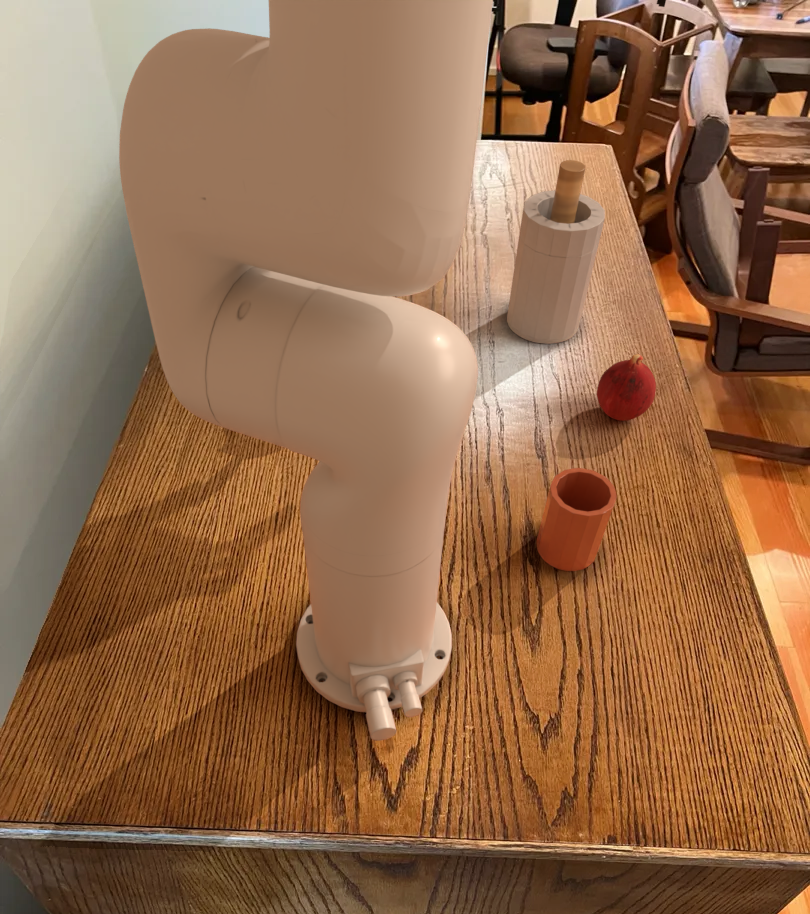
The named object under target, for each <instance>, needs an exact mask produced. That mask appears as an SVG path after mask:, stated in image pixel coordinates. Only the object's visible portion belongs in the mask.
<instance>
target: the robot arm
mask: <svg viewBox="0 0 810 914" xmlns="http://www.w3.org/2000/svg"><path fill="white" fill-rule="evenodd" d="M666 2H667V0H656V5H658V7H660V8H662V7H663V8H665V6H666ZM493 3H494V0H268V23H269V24H268V25H269V37H267V36H261V35H256V34H250V33H245V32H240V31H234V30H228V29H219V28H191V29H185V30H181V31H178V32H175V33H172V34H170V35H168V36H166V37H164V38H162V39H161V40H159V41H158V42H156V44H155V45H154V46H153V47H152V48H151V49H149V50H148V51H147V52H146V53H145V55H144V56H143V58H142V60H140V63H139V64H138V66H137V68H136V70H135V71H134V73H133V75H132V78H131V81H130V83H129V85H128V89H127V92H126V96H125V99H124V104H123V108H122V115H121V122H120V129H119V142H118V143H119V146H118V147H119V149H118V151H119V154H118V161H119V172H120V173H119V174H120V183H121V189H122V194H123V200H124V206H125V211H126V217H127V222H128V225H129V230H130V234H131V235H130V236H131V239H132V244H133V248H134V253H135V256H136V262H137V265H138V270H139V274H140V279H141V284H142V288H143V293H144V296H145V301H146V306H147V310H148V315H149V319H150V323H151V327H152V332H153V336H154V341H155V345H156V349H157V353H158V357H159V361H160V364H161V369H162V371H163V374H164V377H165V379H166V382H167V385H168V386H169V388H170V390H171V393H172V394H173V395H174V397H175V398H176V400H177V401H178V402H179V403H180V404H181V406H182V407H184V408H185V410H186V411H188V412H189V413H190V414H192V415H194V416H196V418H199V419H200V420H203V421H205V422H208V423H210V424H212V425H215V426H217V427H221V428H223V429H226V430H229V431H231V432H235V433H238V434H241V435H244V436H247V437H250V438H253V439H256V440H260V441H263V442H265V443H268V444H273V445H275V446H278V447H281V448H284V449H287V450H289V451H291V452H293V453H296V454H300V455H302V456H305V457H308V458H311V459H314V460H316V461H318V462H317V464H316V465H315V467H313V469H312V471H310V473H309V474H308V476H307V478H306V481H305V482H304V485H303V489H302V491H301V496H300V502H299V515H300V523H301V525H300V526H301V531H302V538H303V546H304V556H305V565H306V573H307V580H308V589H309V597H310V604H309V605H308V607H306V609H305V611H304V613H303V615H302V616H301V618H300V620H299V624H298V628H297V631H296V645H295V647H296V653H297V659H298V663H299V666H300V669H301V671H302V673H303V675H304V677H305V679H306V680H307V682H308V683H309V684H310V685H311V687H312V688H313V689H314V690H315V691H316V692H317V693H318V694H319V695H321V696H322V697H323V698H324V699H325V700H327V701H329V702H331V703H333V704H335V705H336V706H338V707H340V708H343V709H347V710H350V711H354V712H358V713H359V712H360V713H366V714H365V718H366V723H367V727H368V732H369V736H370V739H371V740H372V741H378V742H380V741H381V742H382V741H386V740H388V739H391V738H392V737H394V736H395V735H396V734H397V728H396V723H395V719H394V714H393V712H392V711H393V710H395V709H401V708H402V710H403V711H402V712H403V714H404V716H405V718H406V717H407V718H415V717H418V716H419V715H421V714H422V713H423V706H422V703H421V700H420V699H421V698H422V697H424V696H425V695H427V694H428V693H429V692H431V690H432V689H433V688H435V686H436V685H437V684H438V683H439V682H440V680H441V679H442V677H443V676H444V674H445V673H446V670H447V668H448V665H449V663H450V659H451V654H452V649H453V647H452V646H453V642H452V641H453V638H452V637H453V635H452V630H451V627H450V626H451V625H450V622H449V619H448V618H447V615H446V613H445V611H444V609H443V608H442V607H441V605H440V604H439V602H438V593H439V584H440V576H441V575H440V573H441V565H442V564H441V563H442V554H443V544H444V535H445V526H446V520H447V519H446V518H447V508H448V501H449V493H450V488H451V481H452V477H453V472H454V468H455V464H456V461H457V456H458V453H459V450H460V447H461V444H462V441H463V437H464V435H465V432H466V428H467V427H468V422H469V420H470V417H471V413H472V410H473V405H474V402H475V398H476V394H477V389H478V388H477V387H478V380H479V379H478V378H479V365H478V364H479V363H478V359H477V358H478V357H477V354H476V351H475V349H474V346H473V344H472V343H471V341H470V339H469V337H468V336H467V335H466V334H465V332H464V331H463V330H462V329H461V328H459V326H457V325H456V324H455V323H454V322H453V321H451V320H450V319H448V318H447V317H445V316H444V315H442V314H440V313H438V312H437V311H434V310H432V309H429V308H427V307H425V306H422V305H421V304H417V303H415V302H411V301H408V300H405V299H403V298H399V297H409V296H412V295H417V294H421V293H423V292H427V291H428V290H430V289H431V288H432V287H434V286H435V285H437V284H438V283H440V282H441V281H442V280H443V279H444V278H445V276H446V275H447V273H448V271H449V270H450V269H451V267H452V266H453V264H454V262H455V260H456V257H457V255H458V252H459V250H460V247H461V245H462V241H463V236H464V232H465V227H466V224H467V217H468V211H469V204H470V199H471V193H472V184H473V183H472V182H473V176H474V175H473V174H474V165H475V157H476V150H477V141H478V133H479V124H480V117H481V116H480V115H481V106H482V105H481V104H482V97H483V91H484V90H483V89H484V81H485V71H486V62H487V54H488V44H489V43H488V42H489V37H490V36H489V35H490V27H491V19H492V11H493ZM438 657H441V658H438ZM388 698H390V699H391V701H389V700H388Z"/></svg>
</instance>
